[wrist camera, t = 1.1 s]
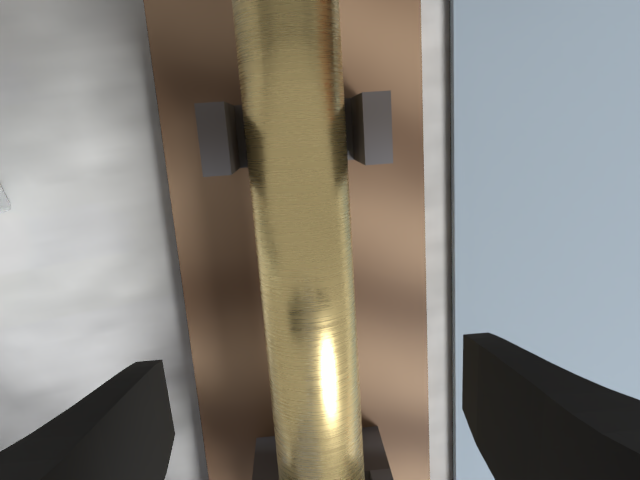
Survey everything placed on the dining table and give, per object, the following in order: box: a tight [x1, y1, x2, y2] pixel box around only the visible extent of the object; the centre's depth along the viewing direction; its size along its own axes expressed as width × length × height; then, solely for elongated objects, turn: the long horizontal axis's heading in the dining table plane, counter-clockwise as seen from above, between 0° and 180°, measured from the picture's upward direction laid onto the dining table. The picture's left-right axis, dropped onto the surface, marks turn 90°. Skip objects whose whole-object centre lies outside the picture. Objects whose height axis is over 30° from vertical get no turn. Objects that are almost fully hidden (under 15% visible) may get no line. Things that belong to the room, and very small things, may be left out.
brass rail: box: [232, 0, 365, 480], centre depth 16 cm, size 22×3×3 cm, turn 4°
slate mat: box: [450, 0, 640, 480], centre depth 22 cm, size 28×9×1 cm, turn 4°
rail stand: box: [143, 0, 430, 480], centre depth 18 cm, size 24×10×6 cm, turn 4°
